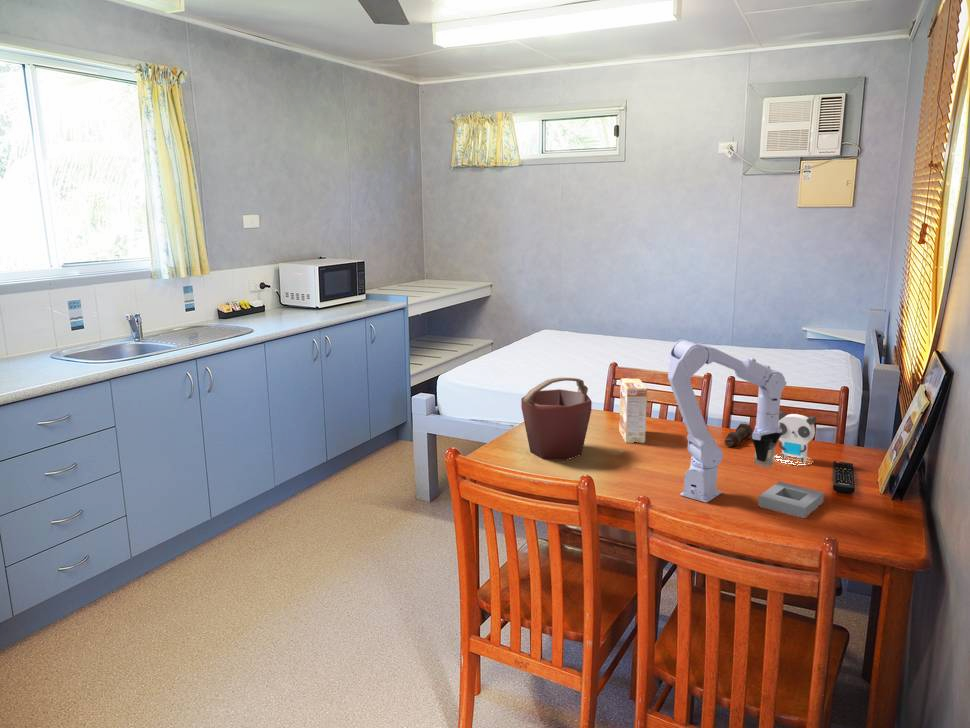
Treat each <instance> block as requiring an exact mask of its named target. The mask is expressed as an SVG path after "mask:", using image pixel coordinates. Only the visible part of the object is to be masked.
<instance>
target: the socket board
mask: <svg viewBox="0 0 970 728" xmlns="http://www.w3.org/2000/svg"><path fill="white" fill-rule="evenodd" d="M824 498H825V492H824V491H819V490H815V489H811V488H807V487H802V486H800V485H795V484H791V483H787V482H782V481H778V482H777V483H775V484H774V485H772V486H771V487H769V488H768V489H767V490H765V491H763V492H762V493H761V494H759V495H758V501H757V502H758V503H757V507H759V506H760V508H762V507H763V508H762V509H766V508H767V509H766V510H770V509H771V510H770V511H773V510H774V512H777V511H779V512H778V513H781V512H783V513H782V514H784V513H786V514H785V515H788V514H790V515H789V516H791V515H794V516H793V517H795V516H797V517H796V518H799V517H801V518H800V519H802V518H805V517H806V516H807V515H808V516H809V515H811V514H810V513H811V512H812V511H813V510H814V511H815V510H817V509H818V508H819V507H820V506H821V505H823V504H824V500H825V499H824ZM822 503H823V504H822ZM819 505H820V506H819ZM818 506H819V507H818ZM817 507H818V508H817ZM816 508H817V509H816ZM814 511H813V512H814ZM813 512H812V513H813ZM808 516H807V517H808ZM807 517H806V518H807ZM806 518H805V519H806Z"/></svg>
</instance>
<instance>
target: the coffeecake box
mask: <svg viewBox="0 0 970 728" xmlns="http://www.w3.org/2000/svg"><path fill="white" fill-rule="evenodd" d="M619 392H620V393H619V394H620V395H619V399H620V400H619V425H618V428H619V429H618V431H619V433H620V434H621V437H622V438H623V440H624V442H625V443H626V442H627V443H626V444H635V443H634V442H637V443H636V444H645V443H646V425H647V403H648V401H647V397H648V396H647V395H648V387H646V385H645V384H644V382H642V380H641V379H640V378H626V377H625V378H620V391H619ZM628 442H629V443H628ZM638 442H639V443H638Z"/></svg>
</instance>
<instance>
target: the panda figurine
mask: <svg viewBox="0 0 970 728" xmlns="http://www.w3.org/2000/svg"><path fill="white" fill-rule="evenodd" d="M779 422H780V429H782V432H781V433H782V435H781V437H780V438H779V440H778V441H779V444H778V447H779V448H780V450H781V454H782V457H781V456H777V455H778V454H776V455H775V457H776V458H780V457H781V458H782V459H785V458H786V457H787V456H791V457H797V458H801V459H793V458H789V457H787V458H786V459H788V460H782V459H776V460H777V461H779V460H780V461H781V463H785V464H787V463H786V462H789V461H790V460H789V459H792V460H797V462H795V463H798V462H799V461H798V460H800V461H801V462H799V463H804V464H798V465H806V464H805V463H806V461H809V460H807V458H808V459H811V458H810V457H808V449H809V447H808V446H809V442H811V441H812V440H813V439H814V437H815V433H816V428H815V423H817V417H816V416H813V415H811V416H810V417H808V416H806V415H802V414H798V413H790V414H789V413H788V414H787V415H786V413H785V412H784V411H779ZM776 460H775V461H776ZM777 461H776V462H777ZM782 461H785V462H782ZM790 462H791V463H788V464H793V465H796V464H794V463H792V462H793V461H790ZM809 462H810V461H809ZM812 462H813V463H814V460H813V461H812ZM781 463H780V464H781ZM785 464H784V465H785ZM808 464H810V463H808ZM811 464H812V463H811ZM798 465H797V466H798ZM812 465H813V464H812ZM797 466H796V467H797Z"/></svg>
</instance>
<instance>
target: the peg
mask: <svg viewBox="0 0 970 728" xmlns="http://www.w3.org/2000/svg"><path fill="white" fill-rule="evenodd" d="M775 445H776V446H777V444H775V443H771V444H770V446H769V449H768V453H767V458H766V461H765V462H763V461H759V460H757V456H756V451H755V450H754V462H753V464H754V465H756V466H760V467H765V468H770V467H771V466H773V465H774V464H775V459H774V458H775V456H776V455H775V454H776V446H775Z"/></svg>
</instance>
